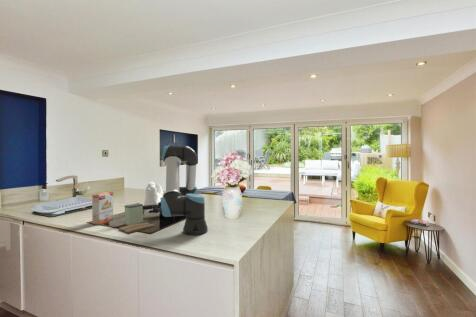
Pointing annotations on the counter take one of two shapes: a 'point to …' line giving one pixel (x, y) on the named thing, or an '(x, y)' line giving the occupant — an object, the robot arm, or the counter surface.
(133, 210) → the sage block
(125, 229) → the walnut board
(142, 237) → the counter surface
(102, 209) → the cracker box
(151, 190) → the decorative rooster
